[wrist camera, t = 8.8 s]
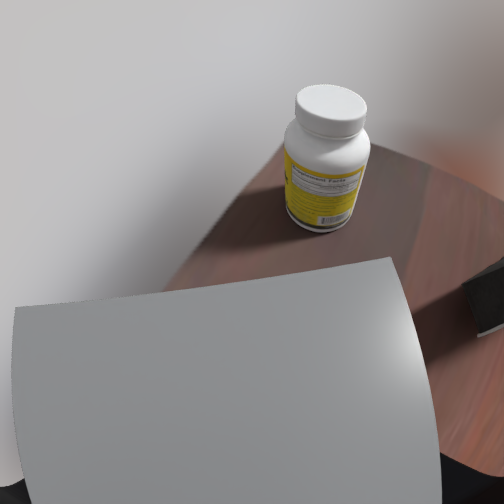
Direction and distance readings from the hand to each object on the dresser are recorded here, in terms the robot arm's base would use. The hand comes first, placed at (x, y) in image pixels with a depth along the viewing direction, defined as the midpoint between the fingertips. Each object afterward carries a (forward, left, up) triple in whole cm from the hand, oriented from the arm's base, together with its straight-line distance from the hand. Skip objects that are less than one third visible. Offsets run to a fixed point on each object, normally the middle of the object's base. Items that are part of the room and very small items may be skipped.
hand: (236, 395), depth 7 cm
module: (-1, 0, -7) cm, 7 cm away
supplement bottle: (+14, +2, -10) cm, 17 cm away
